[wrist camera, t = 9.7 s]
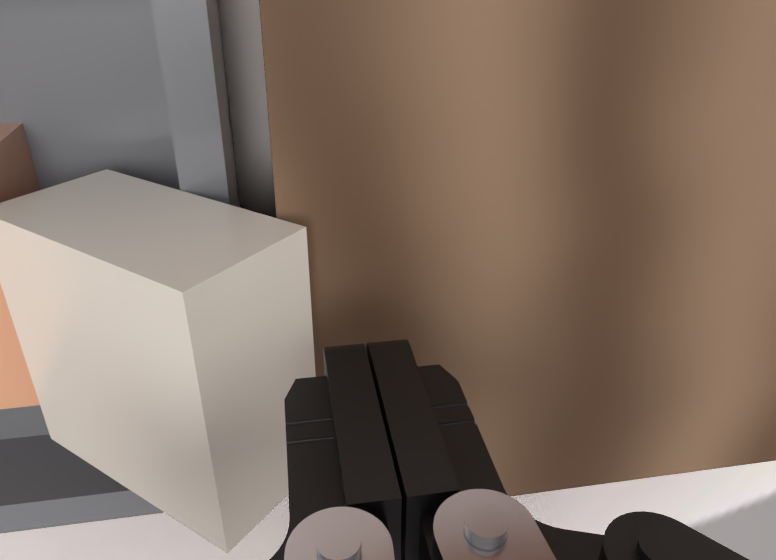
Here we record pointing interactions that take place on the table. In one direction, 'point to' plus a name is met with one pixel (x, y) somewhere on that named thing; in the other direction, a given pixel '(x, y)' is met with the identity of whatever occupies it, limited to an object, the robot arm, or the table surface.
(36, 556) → the table surface
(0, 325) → the terracotta tile
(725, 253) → the wood grain slab
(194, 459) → the cream tile
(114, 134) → the box
